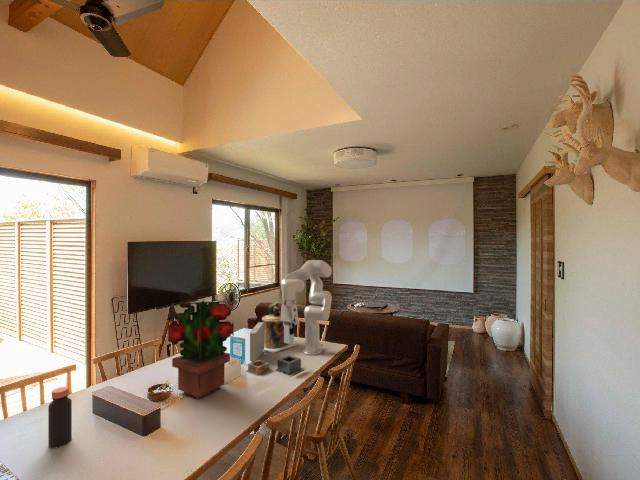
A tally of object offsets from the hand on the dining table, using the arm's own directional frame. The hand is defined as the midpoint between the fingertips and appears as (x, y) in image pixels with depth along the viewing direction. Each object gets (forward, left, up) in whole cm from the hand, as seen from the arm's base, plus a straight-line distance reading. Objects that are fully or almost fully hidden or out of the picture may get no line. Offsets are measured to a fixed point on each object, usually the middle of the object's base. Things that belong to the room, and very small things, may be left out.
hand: (288, 333), depth 185 cm
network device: (-3, -32, -22) cm, 39 cm away
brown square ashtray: (+12, -13, -22) cm, 28 cm away
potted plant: (+45, -18, -22) cm, 53 cm away
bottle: (+101, -22, -22) cm, 106 cm away
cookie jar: (-27, -39, -22) cm, 53 cm away
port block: (0, 0, -22) cm, 22 cm away
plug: (0, 0, -5) cm, 5 cm away
